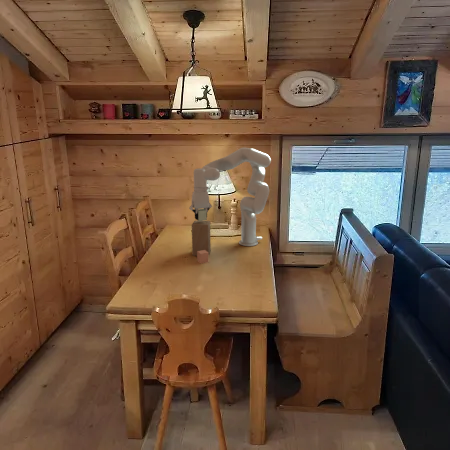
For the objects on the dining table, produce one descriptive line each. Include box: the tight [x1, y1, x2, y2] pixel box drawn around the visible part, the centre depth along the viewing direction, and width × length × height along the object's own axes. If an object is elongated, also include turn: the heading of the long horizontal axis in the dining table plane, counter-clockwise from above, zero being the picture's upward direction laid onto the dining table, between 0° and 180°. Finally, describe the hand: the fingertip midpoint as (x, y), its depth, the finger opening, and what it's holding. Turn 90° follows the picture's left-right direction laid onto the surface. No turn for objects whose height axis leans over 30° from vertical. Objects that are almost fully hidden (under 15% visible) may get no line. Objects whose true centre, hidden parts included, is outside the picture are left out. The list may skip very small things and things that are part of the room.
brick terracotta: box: [196, 250, 210, 264], centre depth 245 cm, size 5×5×6 cm
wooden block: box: [191, 220, 212, 257], centre depth 257 cm, size 10×10×20 cm
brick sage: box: [197, 208, 208, 221], centre depth 253 cm, size 5×5×6 cm
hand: (201, 218), depth 254 cm, fingers closed on brick sage, 4 cm apart
